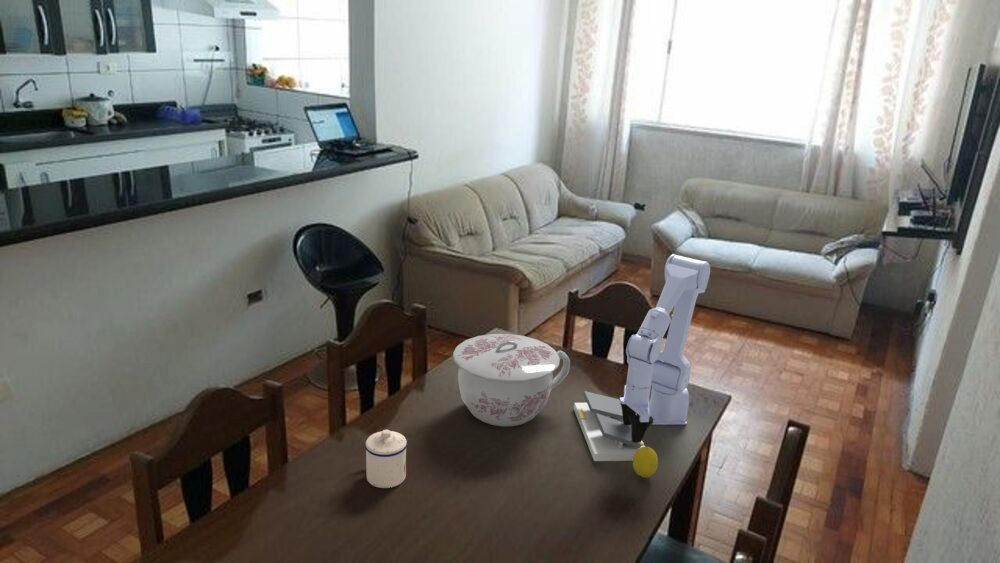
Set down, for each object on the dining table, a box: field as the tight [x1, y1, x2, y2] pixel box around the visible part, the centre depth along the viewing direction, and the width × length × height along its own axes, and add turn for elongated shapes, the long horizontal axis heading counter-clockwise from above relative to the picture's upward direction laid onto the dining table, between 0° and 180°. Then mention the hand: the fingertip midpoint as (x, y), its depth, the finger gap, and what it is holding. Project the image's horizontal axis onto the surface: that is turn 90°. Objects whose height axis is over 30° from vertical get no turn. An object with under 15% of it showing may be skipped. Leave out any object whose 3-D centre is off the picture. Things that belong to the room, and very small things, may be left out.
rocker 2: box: [594, 413, 642, 448], centre depth 169 cm, size 10×10×2 cm
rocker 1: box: [582, 390, 623, 419], centre depth 181 cm, size 10×10×2 cm
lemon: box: [632, 446, 659, 478], centre depth 158 cm, size 6×6×8 cm
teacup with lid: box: [364, 429, 408, 489], centre depth 154 cm, size 12×9×12 cm
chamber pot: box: [452, 333, 571, 427], centre depth 180 cm, size 28×28×21 cm
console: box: [573, 402, 646, 462], centre depth 176 cm, size 13×24×3 cm, turn 6°
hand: (632, 432), depth 170 cm, fingers open, 7 cm apart
